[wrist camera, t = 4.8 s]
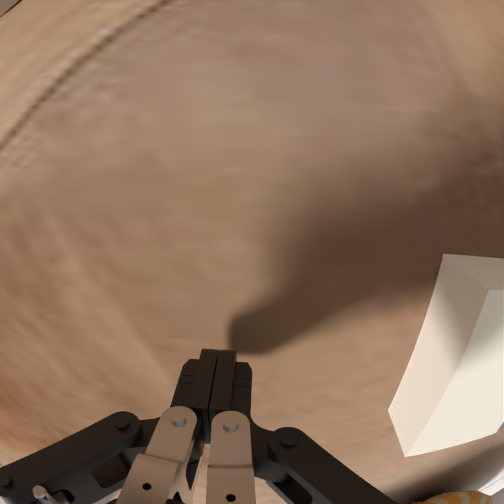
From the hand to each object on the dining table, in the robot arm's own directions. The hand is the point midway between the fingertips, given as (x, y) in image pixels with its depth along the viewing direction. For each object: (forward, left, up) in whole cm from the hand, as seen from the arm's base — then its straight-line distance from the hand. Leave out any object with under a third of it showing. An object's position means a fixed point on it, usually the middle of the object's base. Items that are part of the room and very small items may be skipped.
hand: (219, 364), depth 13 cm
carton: (0, +13, -1) cm, 13 cm away
